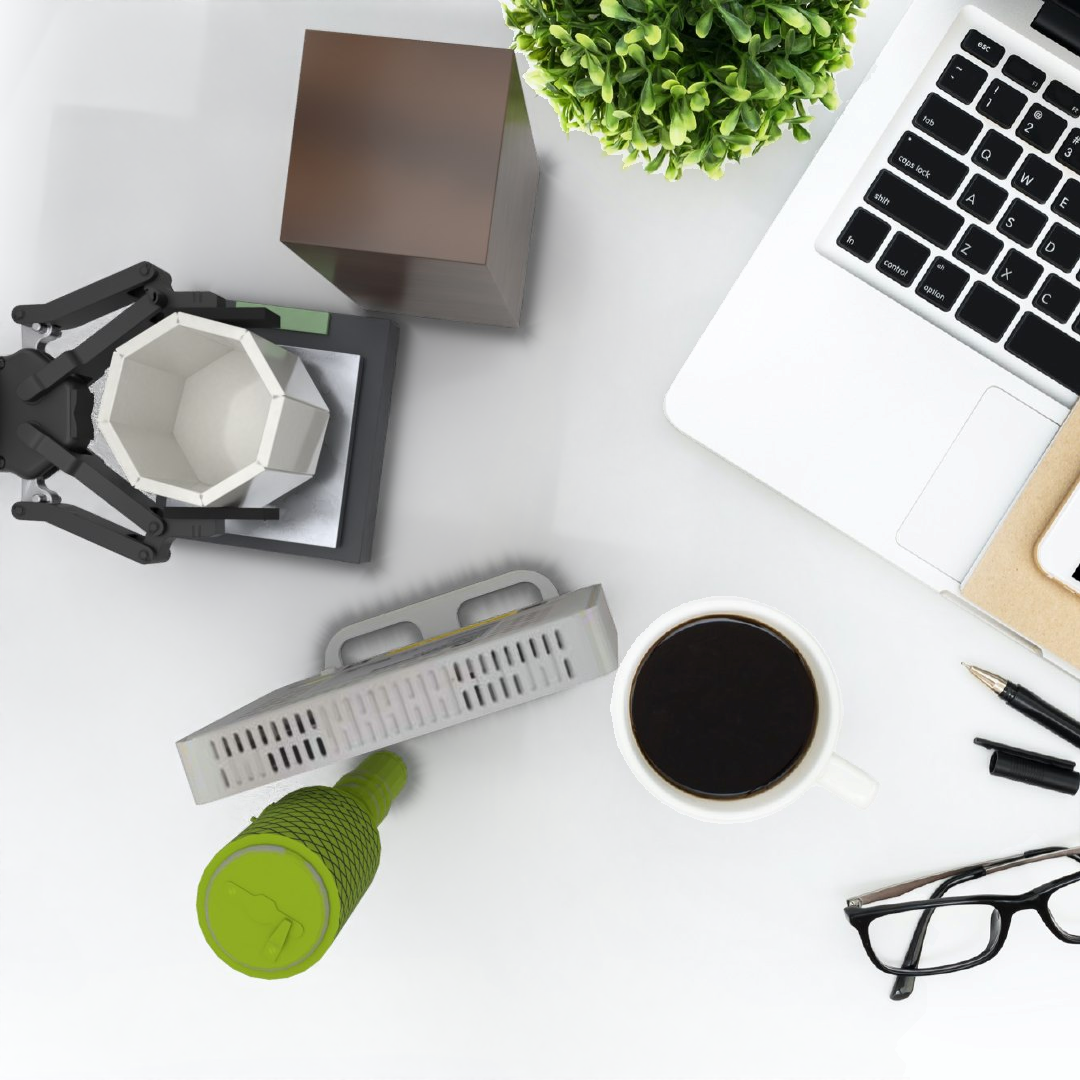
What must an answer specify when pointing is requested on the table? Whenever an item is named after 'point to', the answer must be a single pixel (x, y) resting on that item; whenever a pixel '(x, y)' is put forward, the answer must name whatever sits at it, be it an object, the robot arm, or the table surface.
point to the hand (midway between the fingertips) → (273, 416)
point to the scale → (379, 354)
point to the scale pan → (321, 499)
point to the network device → (407, 685)
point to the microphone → (298, 872)
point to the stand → (413, 175)
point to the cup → (211, 414)
